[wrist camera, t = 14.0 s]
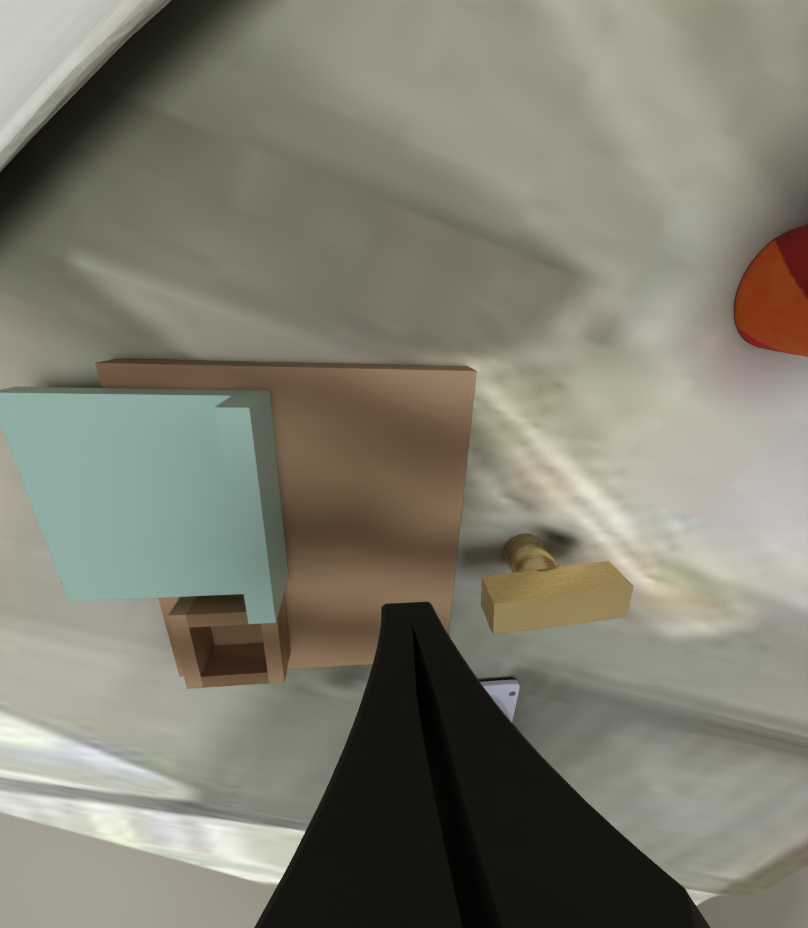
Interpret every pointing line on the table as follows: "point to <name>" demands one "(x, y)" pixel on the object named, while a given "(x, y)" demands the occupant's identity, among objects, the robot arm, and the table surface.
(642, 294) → the table surface
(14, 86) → the square plate
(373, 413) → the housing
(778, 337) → the paper cup
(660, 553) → the table surface
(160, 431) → the cover
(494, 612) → the tan block with knob
